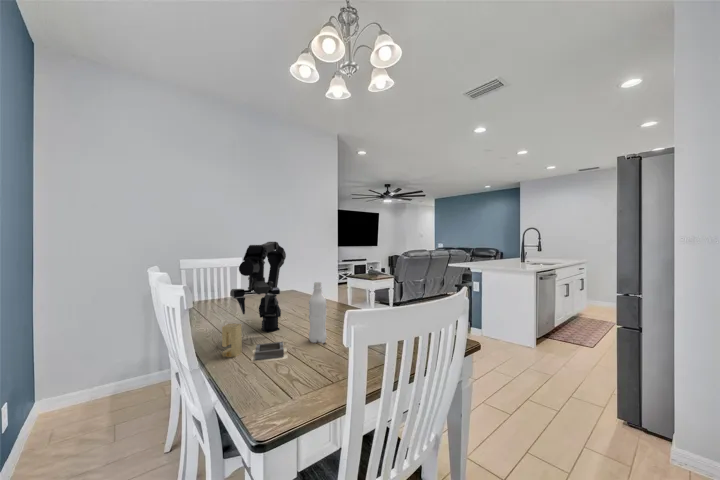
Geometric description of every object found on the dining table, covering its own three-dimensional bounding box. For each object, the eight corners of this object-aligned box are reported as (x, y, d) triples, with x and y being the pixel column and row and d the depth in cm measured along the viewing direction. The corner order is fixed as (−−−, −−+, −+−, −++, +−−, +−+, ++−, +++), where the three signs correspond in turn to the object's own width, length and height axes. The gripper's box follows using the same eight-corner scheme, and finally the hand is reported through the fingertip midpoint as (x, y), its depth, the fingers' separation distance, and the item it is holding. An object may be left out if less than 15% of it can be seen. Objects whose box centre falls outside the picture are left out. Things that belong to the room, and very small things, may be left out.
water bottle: (323, 347, 113) (323, 284, 113) (306, 345, 114) (306, 283, 114) (328, 340, 120) (328, 281, 120) (312, 339, 121) (312, 281, 121)
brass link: (228, 356, 105) (228, 323, 105) (241, 356, 104) (241, 323, 104) (222, 360, 101) (222, 326, 101) (235, 361, 100) (235, 327, 100)
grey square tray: (253, 353, 107) (253, 343, 107) (286, 349, 110) (286, 339, 110) (250, 367, 95) (250, 355, 95) (287, 362, 99) (287, 351, 99)
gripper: (239, 276, 106) (237, 318, 105) (286, 275, 118) (285, 313, 117) (230, 275, 115) (229, 314, 113) (275, 274, 127) (274, 309, 125)
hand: (255, 313), depth 117 cm, fingers open, 9 cm apart
